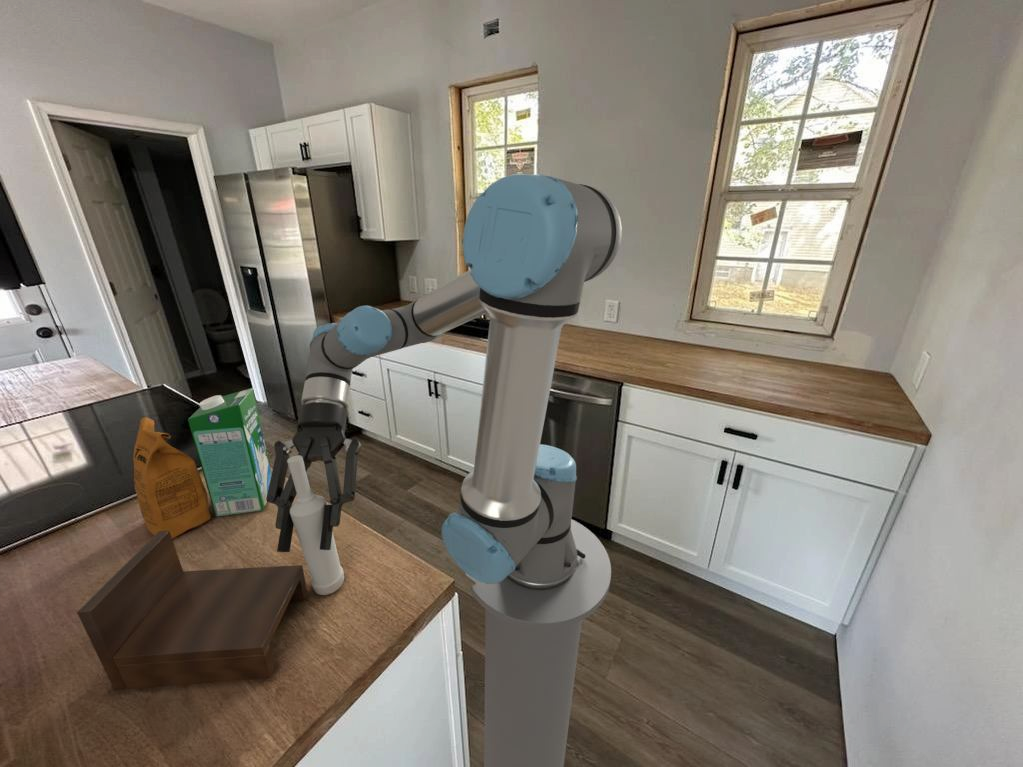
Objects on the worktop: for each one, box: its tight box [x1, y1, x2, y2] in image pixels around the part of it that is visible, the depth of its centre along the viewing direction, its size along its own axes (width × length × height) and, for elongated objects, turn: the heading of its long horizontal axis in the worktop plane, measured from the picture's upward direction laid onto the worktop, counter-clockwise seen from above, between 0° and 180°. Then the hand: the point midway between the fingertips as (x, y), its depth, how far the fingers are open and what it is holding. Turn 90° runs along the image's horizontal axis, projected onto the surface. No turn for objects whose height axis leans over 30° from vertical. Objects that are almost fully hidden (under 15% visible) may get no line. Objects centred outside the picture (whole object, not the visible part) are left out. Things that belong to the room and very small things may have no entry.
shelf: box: [76, 531, 308, 691], centre depth 59 cm, size 20×14×14 cm
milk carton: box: [187, 387, 272, 517], centre depth 86 cm, size 9×9×25 cm
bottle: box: [287, 454, 345, 596], centre depth 66 cm, size 5×5×25 cm
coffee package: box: [133, 416, 212, 540], centre depth 80 cm, size 10×12×22 cm
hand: (304, 550), depth 62 cm, fingers closed on bottle, 5 cm apart
